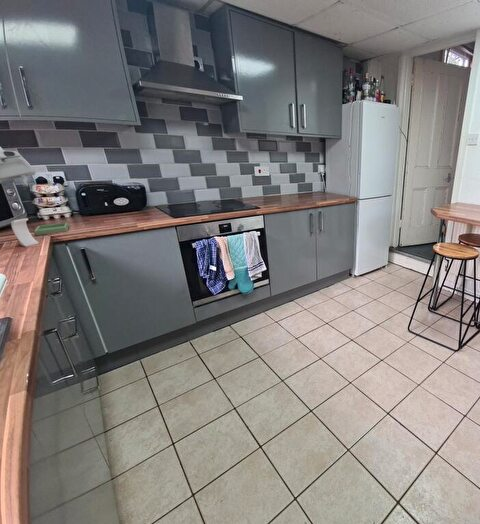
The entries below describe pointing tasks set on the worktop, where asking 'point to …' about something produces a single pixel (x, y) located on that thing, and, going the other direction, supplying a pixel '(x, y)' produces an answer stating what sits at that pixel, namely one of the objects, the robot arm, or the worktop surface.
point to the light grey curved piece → (23, 232)
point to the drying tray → (51, 228)
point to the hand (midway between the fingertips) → (11, 188)
